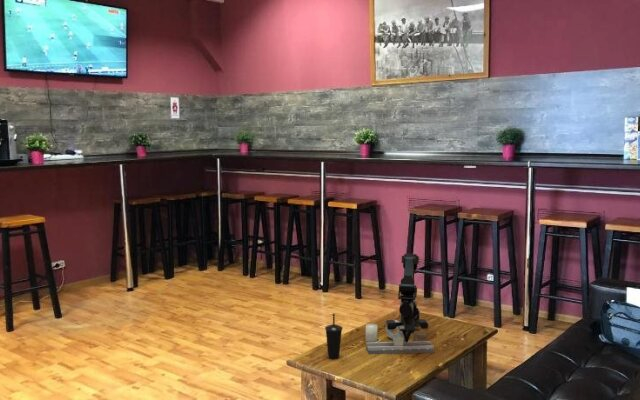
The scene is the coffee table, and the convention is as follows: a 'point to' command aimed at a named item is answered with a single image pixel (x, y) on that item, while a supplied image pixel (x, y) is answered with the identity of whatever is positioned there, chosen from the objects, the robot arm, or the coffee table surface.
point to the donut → (391, 333)
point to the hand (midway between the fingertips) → (406, 342)
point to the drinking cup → (333, 339)
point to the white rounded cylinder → (371, 332)
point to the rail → (399, 347)
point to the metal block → (420, 336)
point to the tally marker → (397, 340)
